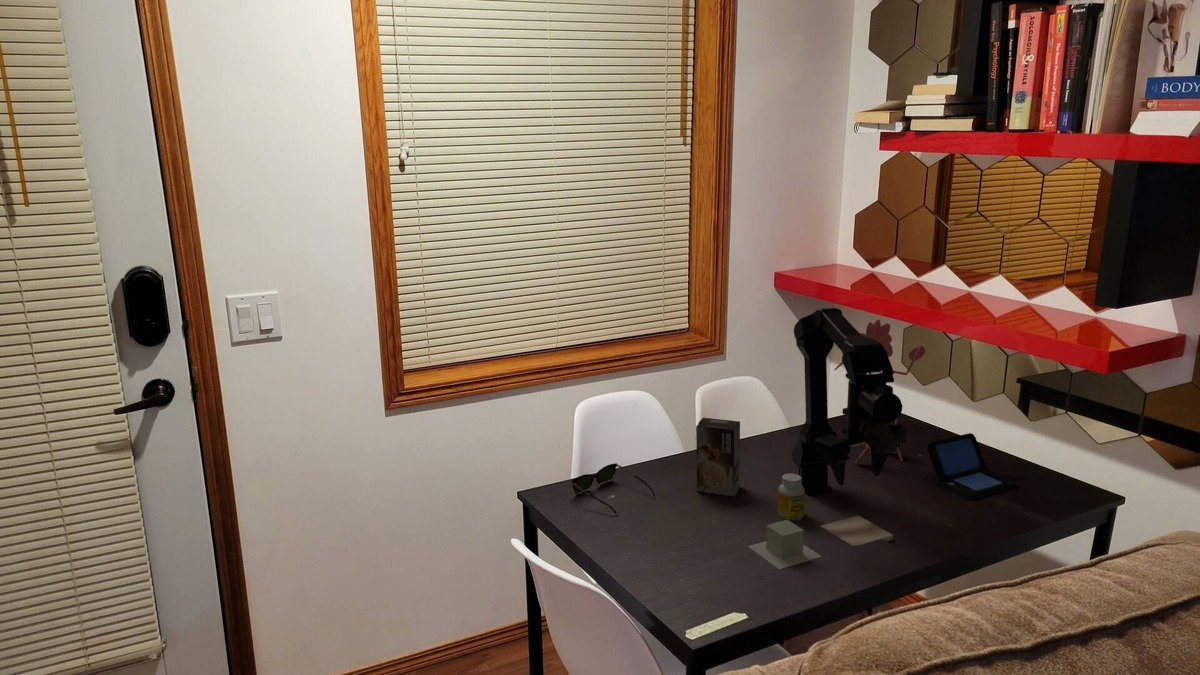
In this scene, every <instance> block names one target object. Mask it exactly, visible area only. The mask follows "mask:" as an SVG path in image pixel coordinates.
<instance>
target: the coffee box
mask: <svg viewBox="0 0 1200 675" xmlns="http://www.w3.org/2000/svg"><path fill="white" fill-rule="evenodd" d="M695 444H696V445H695V446H696V448H695V449H696V450H695V451H696V452H695V455H696V456H695V458H696V460H695V461H696V465H695V466H696V492H697V491H699V492H698V493H704V492H705V494H712V493H713V495H720V496H727V497H736V495H737V494H738V492H739V490H740V488H741V478H740V476H741V421H737V420H731V419H719V418H711V417H702V418H701V419H700V420H699V421H698V422H697V425H696V426H695Z"/></svg>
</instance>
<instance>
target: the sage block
mask: <svg viewBox="0 0 1200 675" xmlns="http://www.w3.org/2000/svg"><path fill="white" fill-rule="evenodd" d="M765 530H766V531H765V541H766V549H767V550H768V551H770V552H771V553H773V554H774V555H775V556H777V557H778V558H780V559H781V560H784V559H787V558H790V557H794V556H797V555H800V554H803V544H804V535H805V534H804V533H805V532H804V531H805V530H804V529H803V528H801V527H800V526H798V525H796V524H795V523H793V522H792V521H791V520H786V519H783V520H781V521H777V522H774V523H770V524H767V525H766V526H765Z"/></svg>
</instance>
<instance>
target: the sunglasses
mask: <svg viewBox="0 0 1200 675" xmlns="http://www.w3.org/2000/svg"><path fill="white" fill-rule="evenodd" d="M617 468H620V469H622V470H624V471H626V472H627V473H629V474H631V476H633V477H634V478H636V479H638V480H639V481H640V482H642V483H643V484H644V485H645V486H646V487H648V488H649V489H650V491H651V493H652V495H653V497H654V496H655V497H656V494H655V492H654V490H653V488H652V487H651V486H650V485H649V484H648V483H647V482H645V481H644V480H643V479H642V478H641V477H639V476H638V475H636V474H634V473H632V472H631V471H630V470H628V469H626V468H624V467H623V466H621V465H619V464H618V463H611V464H608V465H605V466H603V467H602V468H600V469H599V470H597V472H596V473H595V474H593V475H592V474H590V473H587V474H582V475H580V476H577V477H576V478H574V479H572V480H570V483H571V485H572V490H573V493H574V494H575V495H576V494H577V493H579V492H581V491H583V492H584V493H585V494H586V495H588V496H590V498H592V499H594V500H597V502H599V503H601V504H604V505H605V506H607V507H608V508H609V509H611V510H612V511H613V512H614V514H615V513H618V512H617V511H616V510H615V509H614V508H613V506H611V505H610V504H608V503H606V502H605V501H603V500H601V499H599V498H598V497H596V496H595V495H592V494H590V493H589V492H588V491H586V492H585V491H584V490H586V489H588V488H589V489H590V487H591V486H592V485H593V482H594V479H595V480H596V482H597V483H598V485H599V484H600V483H602V482H605V481H608V480H610V479H612V480H613V478H614V475H615V474H616V470H617Z"/></svg>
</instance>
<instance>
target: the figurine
mask: <svg viewBox="0 0 1200 675" xmlns="http://www.w3.org/2000/svg"><path fill="white" fill-rule="evenodd" d="M881 324H882V323H881V320H880V319H877V320H875V321H874V322H870V321H869V322H868V323H867V325H866V329H865V332H859V333H860V334H861V335H862V336H864V337H868V338H872V339H875V340H876V341H878V342H879V343H881V344H882V345H883V347H884V348H885V349H886V351H887V354H888V357H889V358H890V357H892V356H893V353H894V351H893V346H892V344H891V343H892V341H893V338H892V336H891V335H890V330H891V324H890V323H884V324H882V325H881ZM925 354H926V348H925V346H923V345H922V344H919V345H917V346H915V347H913V348H912V349H911V350H910V351H909V352H908V359H909V360H910V361H911V362H910V364H909V366H908V367H907V368H908V369H907V370H906V371H905V372H902V371H896V370H893V371H894V374H897V375H902V376H903V375H904V376H908V374H909V372H910V370H911V369H912V367H913V365H914V363H915V362H916V361H917V360H920V359H921V358H922V357H923V356H924V355H925ZM842 365H844V364H843V362H842V361H841V362H840V363H839V364H838V365H837V366H836V367H835V368H834V369H833V370H834V371H837V369H839V368H840V367H841V366H842ZM881 373H883V372H882V371H881V372H877V374H881ZM868 374H872V373H868ZM898 418H899V417H898ZM898 418H897V419H896V420H895V421H894V422H895V423H894V425H896V424H898ZM856 447H860V446H859V445H857V446H856ZM867 450H868V453H869V456H870V459H871V448H870V446H869V445H868V444H867V443H866V444H865V448H864V449H863V451H862V452H861V453H860V455H859V457H858V458H857V459H856V460H855V461H854V464H856V463H858V461H859V460H860V459H861V457H863V455H864V454H865V453H866V452H867ZM896 451H897V454H898V457H899V459H900V462H903V461H904V459H903V457H902V454H901V451H900V447H898V448H897V449H896ZM917 455H918V456H920V457H922V455H921V454H919V453H917ZM871 461H872V459H871Z"/></svg>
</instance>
